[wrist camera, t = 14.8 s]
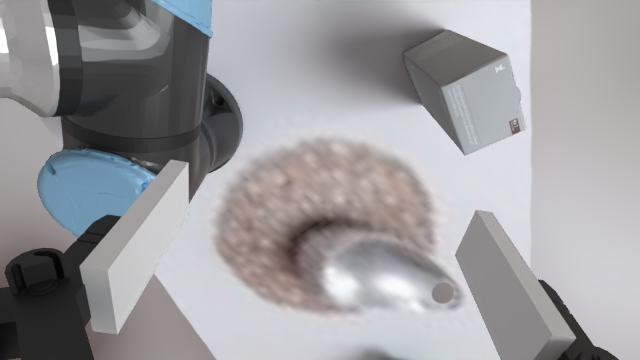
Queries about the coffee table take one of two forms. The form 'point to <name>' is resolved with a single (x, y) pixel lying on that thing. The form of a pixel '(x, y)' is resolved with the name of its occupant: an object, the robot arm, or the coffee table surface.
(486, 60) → the skincare box
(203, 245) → the coffee table surface
